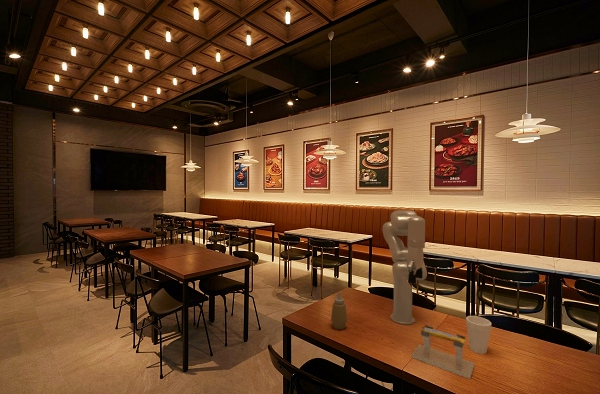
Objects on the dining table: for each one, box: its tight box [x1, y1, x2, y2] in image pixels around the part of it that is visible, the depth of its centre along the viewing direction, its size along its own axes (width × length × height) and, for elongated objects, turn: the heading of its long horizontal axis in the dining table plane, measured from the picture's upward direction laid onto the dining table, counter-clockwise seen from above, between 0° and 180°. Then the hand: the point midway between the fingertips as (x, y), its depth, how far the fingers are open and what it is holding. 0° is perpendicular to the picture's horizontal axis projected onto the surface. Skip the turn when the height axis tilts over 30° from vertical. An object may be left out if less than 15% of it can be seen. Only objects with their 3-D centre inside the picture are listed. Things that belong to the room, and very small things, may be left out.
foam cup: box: [465, 315, 492, 355], centre depth 122 cm, size 10×9×13 cm
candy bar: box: [420, 325, 468, 344], centre depth 114 cm, size 17×4×2 cm, turn 50°
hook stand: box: [411, 325, 475, 380], centre depth 113 cm, size 10×21×12 cm, turn 50°
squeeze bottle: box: [330, 291, 348, 330], centre depth 142 cm, size 8×8×18 cm
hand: (415, 280), depth 130 cm, fingers open, 9 cm apart
